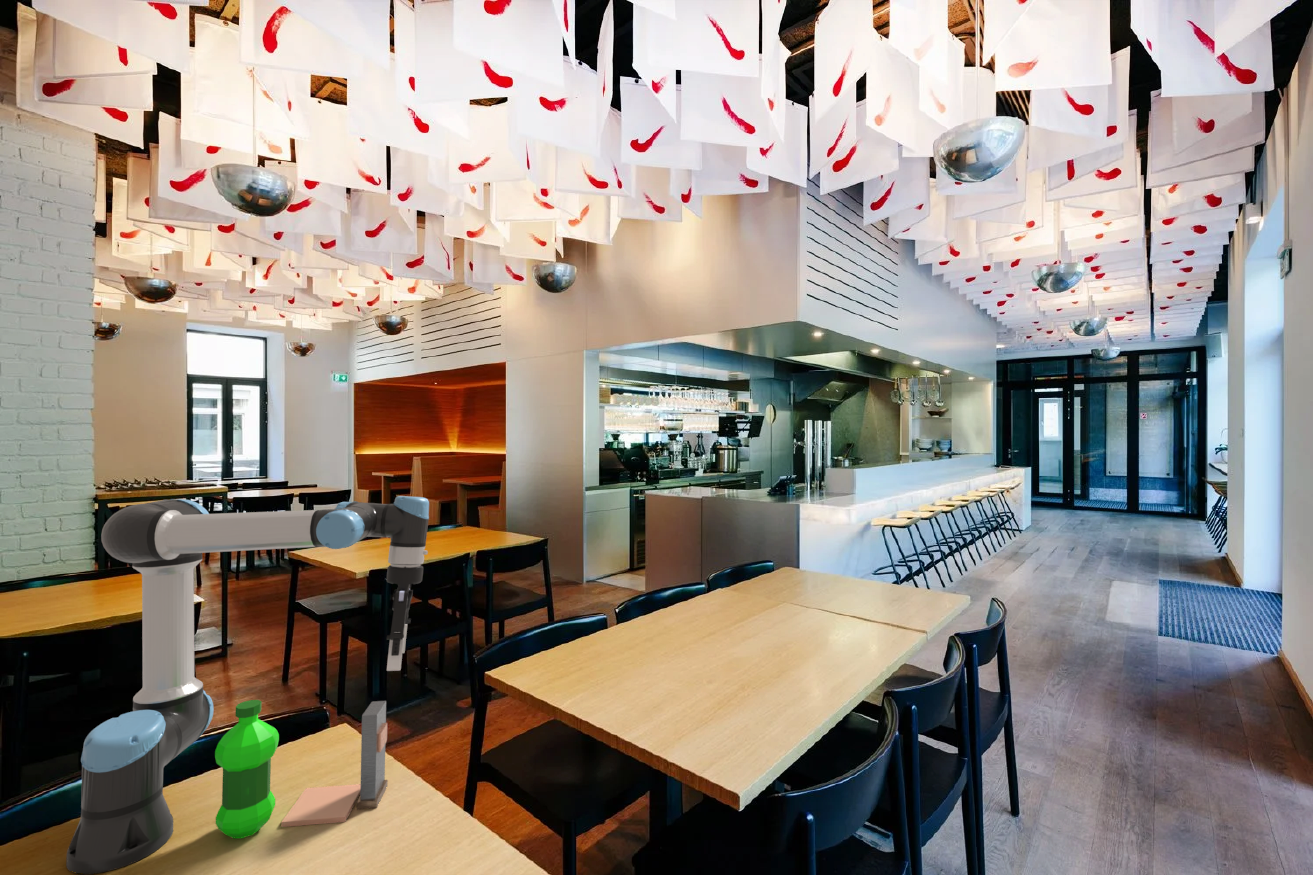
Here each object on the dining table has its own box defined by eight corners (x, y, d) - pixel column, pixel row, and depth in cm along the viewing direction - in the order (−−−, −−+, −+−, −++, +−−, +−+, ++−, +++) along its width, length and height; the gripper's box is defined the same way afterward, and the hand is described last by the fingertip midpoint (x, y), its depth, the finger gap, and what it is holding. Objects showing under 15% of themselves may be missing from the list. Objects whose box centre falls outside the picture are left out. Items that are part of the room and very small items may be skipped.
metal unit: (356, 809, 126) (358, 716, 126) (368, 787, 134) (370, 700, 134) (377, 807, 127) (379, 715, 127) (387, 786, 135) (389, 699, 135)
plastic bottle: (206, 852, 112) (209, 719, 113) (224, 819, 122) (227, 697, 122) (268, 840, 116) (271, 711, 116) (280, 809, 126) (283, 690, 126)
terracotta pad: (281, 826, 120) (281, 821, 120) (305, 792, 132) (306, 787, 132) (345, 821, 122) (345, 816, 122) (363, 788, 134) (363, 783, 134)
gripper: (421, 573, 125) (411, 677, 123) (425, 558, 148) (416, 646, 146) (382, 572, 122) (371, 679, 120) (392, 557, 146) (383, 646, 144)
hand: (396, 661), depth 133 cm, fingers open, 13 cm apart
